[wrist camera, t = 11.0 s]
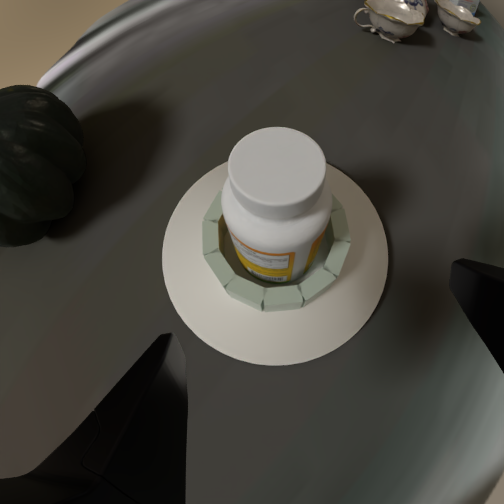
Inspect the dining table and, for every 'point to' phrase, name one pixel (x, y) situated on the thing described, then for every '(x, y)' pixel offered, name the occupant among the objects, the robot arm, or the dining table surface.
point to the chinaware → (414, 17)
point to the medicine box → (467, 4)
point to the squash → (36, 162)
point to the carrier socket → (274, 296)
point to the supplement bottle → (276, 203)
